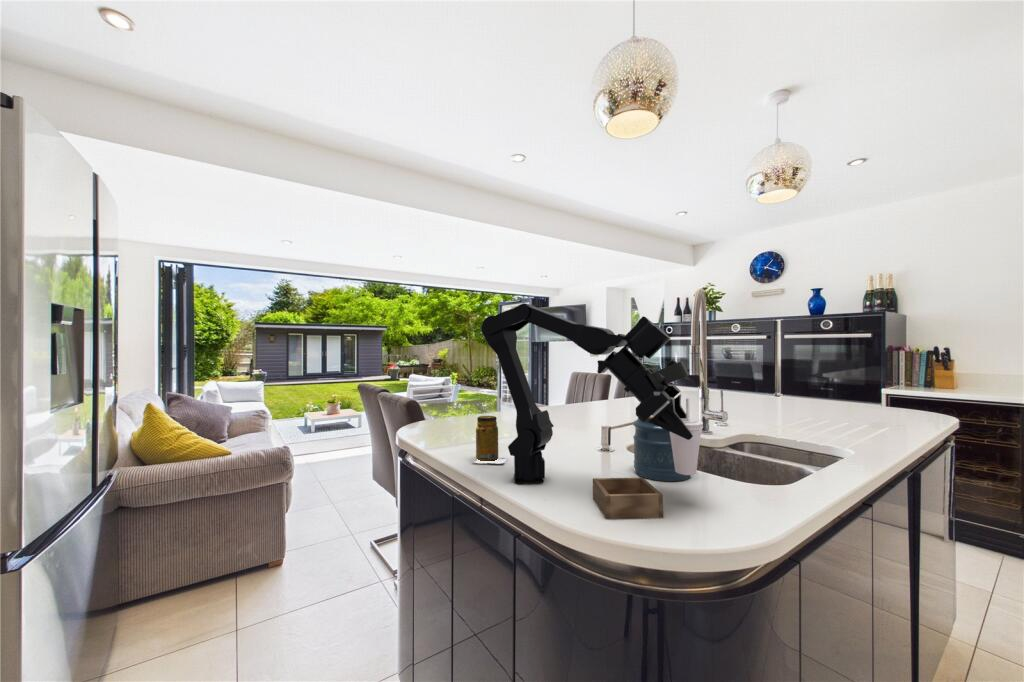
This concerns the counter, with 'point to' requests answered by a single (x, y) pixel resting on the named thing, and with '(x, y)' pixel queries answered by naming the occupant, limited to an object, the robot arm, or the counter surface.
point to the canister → (654, 452)
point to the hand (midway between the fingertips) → (692, 435)
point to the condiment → (487, 438)
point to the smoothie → (687, 446)
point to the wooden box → (627, 498)
